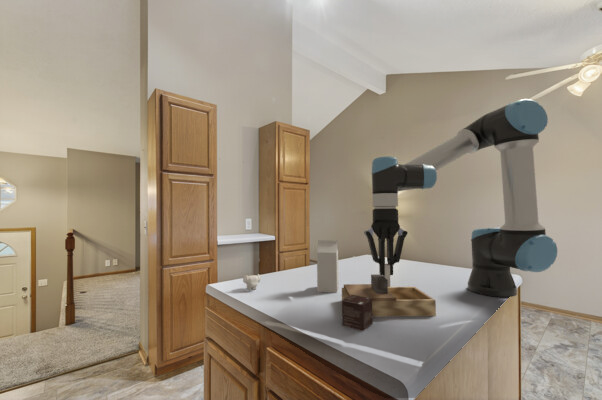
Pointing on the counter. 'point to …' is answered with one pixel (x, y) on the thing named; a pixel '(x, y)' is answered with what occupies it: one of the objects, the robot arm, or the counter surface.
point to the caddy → (403, 303)
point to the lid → (372, 289)
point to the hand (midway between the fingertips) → (386, 285)
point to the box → (357, 312)
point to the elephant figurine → (251, 281)
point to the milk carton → (327, 266)
